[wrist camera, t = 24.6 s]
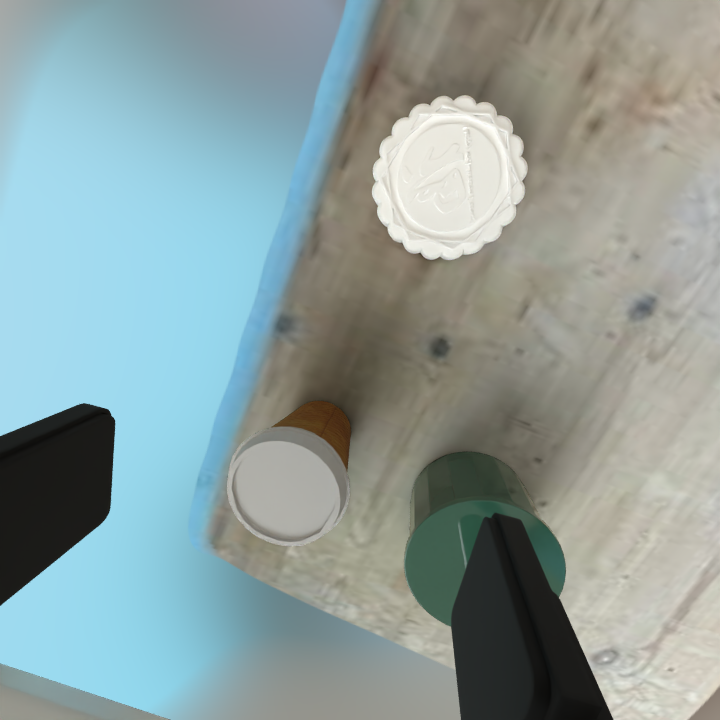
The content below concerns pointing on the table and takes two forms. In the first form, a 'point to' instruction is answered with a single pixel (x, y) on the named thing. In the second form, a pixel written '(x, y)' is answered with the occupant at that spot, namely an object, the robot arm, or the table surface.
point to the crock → (465, 483)
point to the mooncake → (449, 177)
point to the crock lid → (467, 550)
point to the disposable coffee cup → (293, 476)
